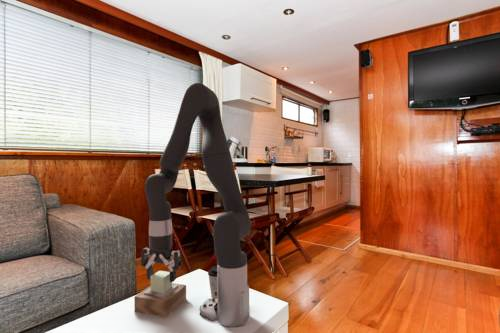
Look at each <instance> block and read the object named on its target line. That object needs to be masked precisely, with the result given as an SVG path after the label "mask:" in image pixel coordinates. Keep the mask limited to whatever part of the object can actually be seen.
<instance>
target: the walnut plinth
mask: <svg viewBox="0 0 500 333" xmlns="http://www.w3.org/2000/svg"><path fill="white" fill-rule="evenodd" d="M186 300H187V285H186V284H181V283H174V282H172V287H171V288H169V289H168V290H167V291H166V292H164V293H159V292H153V291H151V285H149V286H147V287H146V288H145V289H143V290H142V291H140V292H139V293H138V294H136V295H134V313H140V314H145V315H152V316H155V317H156V316H157V317H163V318H168V317H169V316H170V315H171V314H172V313H173V312H174V311H176V310H177V309H178V308H179V307H180V306H181V304H183V303H184V302H185V301H186Z"/></svg>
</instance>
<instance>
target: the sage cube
mask: <svg viewBox="0 0 500 333" xmlns="http://www.w3.org/2000/svg"><path fill="white" fill-rule="evenodd" d="M149 281H150V286H151V291H153V292H159V293H164V292H166V291H167V290H168V289H169V288H171V287H172V283H173V282H170V271H165V270H158V271H156V272H155V273H153V275H152V276H150V280H149Z"/></svg>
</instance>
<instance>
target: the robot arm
mask: <svg viewBox="0 0 500 333" xmlns="http://www.w3.org/2000/svg"><path fill="white" fill-rule="evenodd" d="M220 107H221V106H220V103H219V98H218V96H217V94H216V92H214V91H213V90H212V89H210V87H208V86H206V85H205V84H203V83H201V82H195V83H192V84H190V85H189V86H187V87H186V89H185V92H184V94H183V96H182V100H181V103H180V106H179V110H178V113H177V117H176V120H175V123H174V127H173V129H172V132H171V135H170V137H169V140H168V142H167V144H166V146H165V149H164V150H163V153H162V154H161V157H160V160H159V164H160V166H161V168H160V170H159V173H155V174H151V175H149V176H148V177H147V179H146V180H145V183H144V192H145V196H146V197H145V198H146V199H147V200H146V201H147V204H148V207H149V223H148V247H147V246H146V247H144V248H143V249H141V255H140V258H141V259H140V266H141V267H145V270H146V278H147V280H149V281H150V276H152V275H153V274H154V264H164V265H165V266H166V267H167V268H168V270H169V272H170V282H172V283H174V282H175V280H176V279H177V271H178V270H179V269H181V268H182V266H183V264H182V251H181V250H180V249H178V250H173V222H172V204H171V203H170V202H169V201H167V198H166V194H168V193H170V192H171V191H172V190H173V189H174V187H175V185H176V183H177V181H178V176H179V172H180V169H181V166H182V164H183V162H185V161H184V160H185V159H186V156H187V155H188V152H189V148H190V144H191V143H190V142H191V135H192V130H193V127H194V124H195V122H196V120H197V118H198V119H199V123H200V126H201V129H202V141H201V142H202V143H201V159H202V163H203V167H204V171H205V174H206V176H207V179H208V180H209V182H210V183H211V184H212V185H213V187H214V188H215V190H216V191H217V193H218V194H219V196H220V198H221V201H222V204H223V207H224V211H225V212H224V213H221V214H218V215H217V217H216V218H215V219H214V223H213V232H212V233H213V247H214V250H213V251H214V255H215V258H216V260H217V262H216V266H217V311H216V312H217V313H216V315H217V322H218V323H219V324H220V325H222V326H224V327H238V326H242V327H243V326H245V324H246V322H247V320H248V319H249V317H250V286H249V284H248V257H247V253H246V252H245V251H244V250H241V240H242V239H244V238H246V237H247V236H248V235H249V234H250V232H251V228H252V223H251V222H252V221H251V218H250V215H249V212H248V209H247V207H246V205H245V201H244V198H243V195H242V193H241V189H240V185H239V182H238V178H237V175H236V172H235V171H236V170H235V166H234V162H233V158H232V153H231V151H230V148H229V143H228V140H227V137H226V134H225V130H224V127H223V123H222V122H223V121H222V115H221V114H222V113H221V108H220ZM149 257H150V258H149Z"/></svg>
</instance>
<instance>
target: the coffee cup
mask: <svg viewBox="0 0 500 333" xmlns="http://www.w3.org/2000/svg"><path fill="white" fill-rule="evenodd" d="M207 274H208V282H209V288H210V289H209V290H210V295H211V299H212V298H213V299H217V265H216V266H212V267H211V268H210V269H209V270H208V272H207Z"/></svg>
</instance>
